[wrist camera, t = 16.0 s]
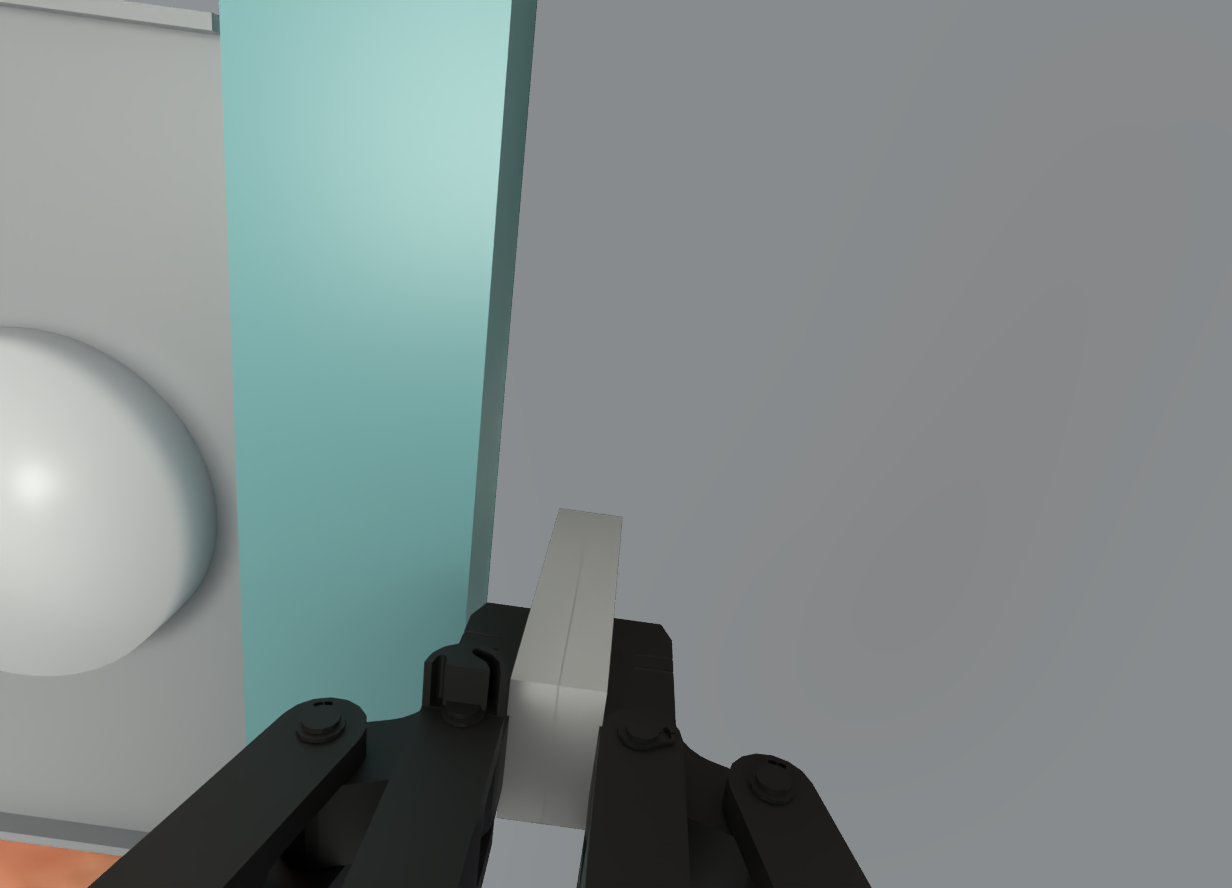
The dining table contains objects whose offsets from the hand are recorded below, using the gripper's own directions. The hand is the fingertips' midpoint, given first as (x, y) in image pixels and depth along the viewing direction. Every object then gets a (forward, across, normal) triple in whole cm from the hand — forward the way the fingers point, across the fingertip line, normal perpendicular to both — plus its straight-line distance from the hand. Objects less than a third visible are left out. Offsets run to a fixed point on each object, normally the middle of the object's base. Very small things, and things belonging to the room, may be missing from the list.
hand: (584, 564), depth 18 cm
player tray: (+1, -11, 0) cm, 11 cm away
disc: (0, -13, 0) cm, 13 cm away
